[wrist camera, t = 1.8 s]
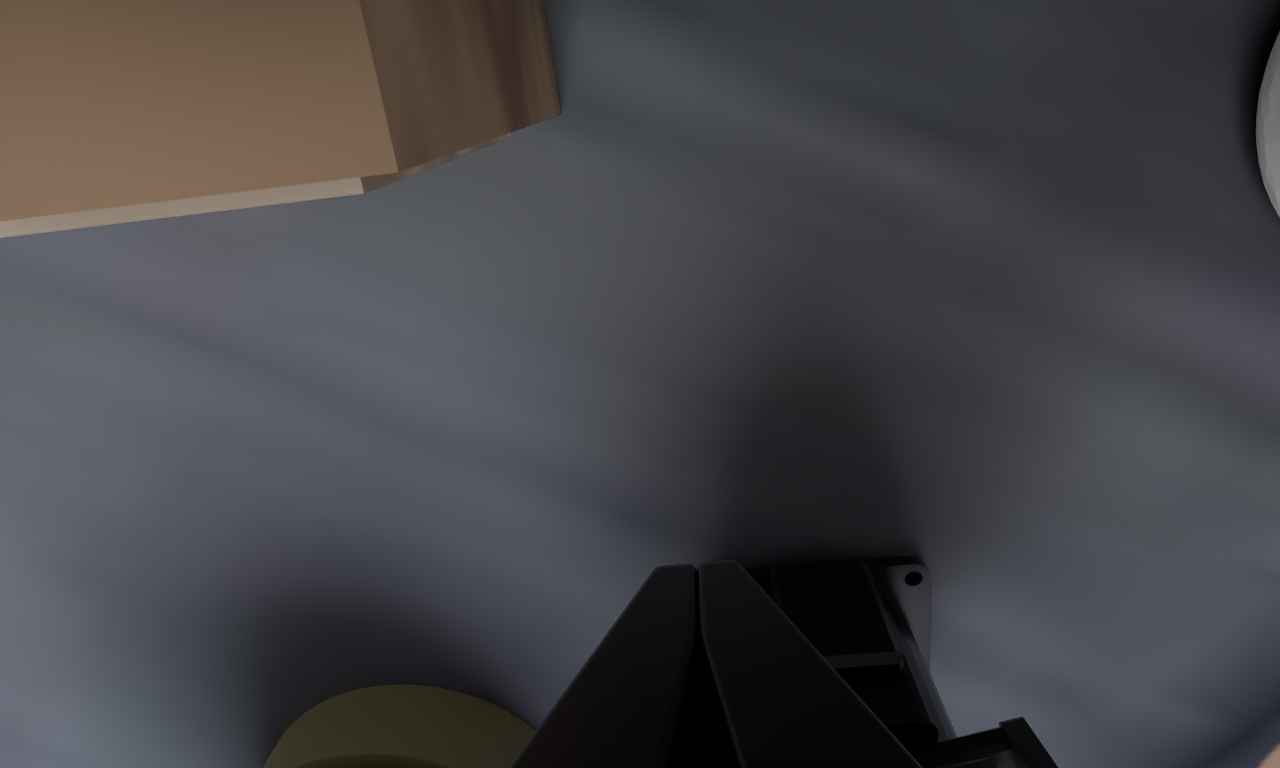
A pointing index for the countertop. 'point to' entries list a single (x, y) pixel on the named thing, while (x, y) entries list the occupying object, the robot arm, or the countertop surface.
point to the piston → (402, 731)
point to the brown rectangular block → (250, 100)
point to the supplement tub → (1270, 127)
